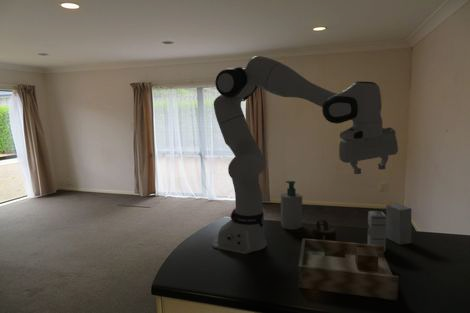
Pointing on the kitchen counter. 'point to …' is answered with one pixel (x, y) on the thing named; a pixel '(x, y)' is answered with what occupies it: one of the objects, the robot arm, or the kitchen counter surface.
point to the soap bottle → (291, 208)
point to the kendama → (323, 231)
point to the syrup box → (376, 228)
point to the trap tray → (344, 270)
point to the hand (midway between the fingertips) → (369, 171)
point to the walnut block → (366, 259)
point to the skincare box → (398, 223)
